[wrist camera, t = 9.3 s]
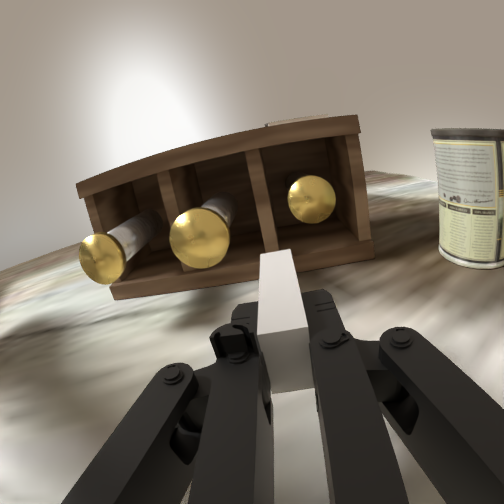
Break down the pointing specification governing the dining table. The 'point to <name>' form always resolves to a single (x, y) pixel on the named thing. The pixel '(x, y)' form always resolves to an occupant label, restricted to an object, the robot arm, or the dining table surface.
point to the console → (239, 202)
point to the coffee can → (471, 195)
